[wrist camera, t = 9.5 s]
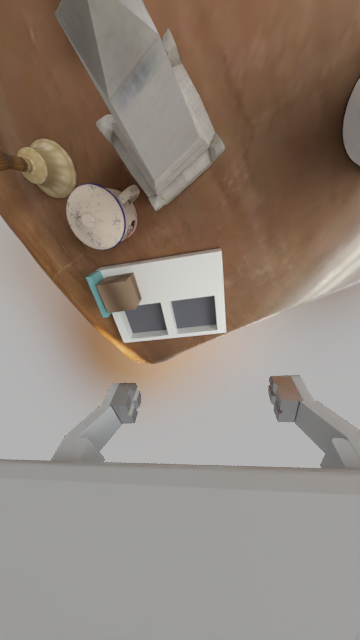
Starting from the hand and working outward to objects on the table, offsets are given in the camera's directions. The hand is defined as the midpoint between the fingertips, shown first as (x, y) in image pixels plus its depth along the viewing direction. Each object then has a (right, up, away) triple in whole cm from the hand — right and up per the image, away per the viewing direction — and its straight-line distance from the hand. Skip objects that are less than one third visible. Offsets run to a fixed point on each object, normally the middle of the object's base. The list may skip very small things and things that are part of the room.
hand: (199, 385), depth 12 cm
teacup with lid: (-12, +25, +25) cm, 37 cm away
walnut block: (-13, +11, +29) cm, 34 cm away
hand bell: (-24, +31, +22) cm, 44 cm away
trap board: (-4, +9, +33) cm, 35 cm away
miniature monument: (-3, +31, +20) cm, 37 cm away
